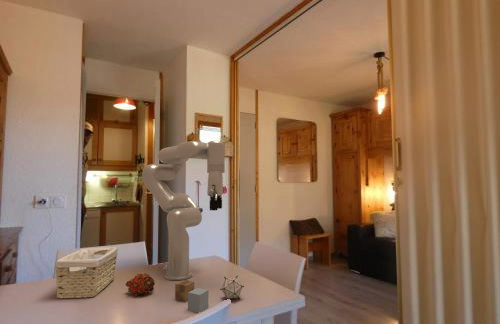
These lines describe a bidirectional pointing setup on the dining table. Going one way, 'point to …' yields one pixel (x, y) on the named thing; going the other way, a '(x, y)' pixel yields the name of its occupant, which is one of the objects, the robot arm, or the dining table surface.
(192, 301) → the block
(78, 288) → the storage basket
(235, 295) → the beige geometric ornament
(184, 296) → the block
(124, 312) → the dining table surface
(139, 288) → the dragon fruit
